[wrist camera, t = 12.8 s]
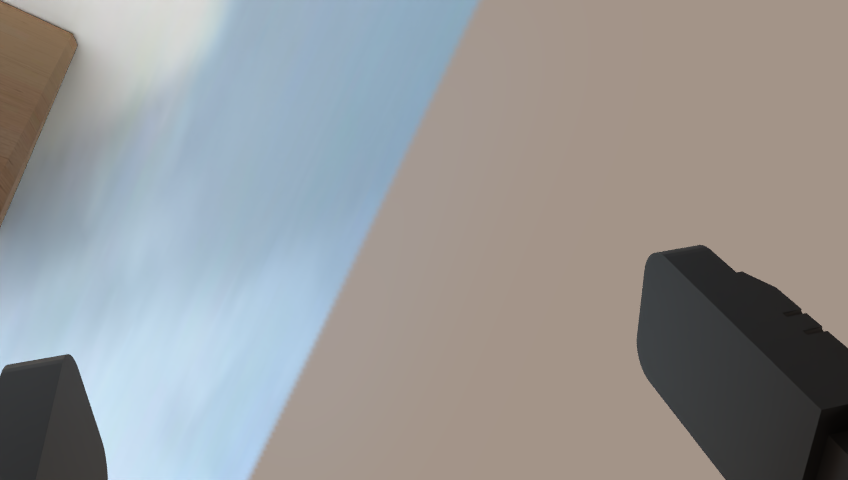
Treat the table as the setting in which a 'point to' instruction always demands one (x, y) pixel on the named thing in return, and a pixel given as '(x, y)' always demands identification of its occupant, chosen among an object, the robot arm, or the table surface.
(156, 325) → the table surface
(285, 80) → the table surface
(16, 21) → the decorative block
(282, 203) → the table surface
